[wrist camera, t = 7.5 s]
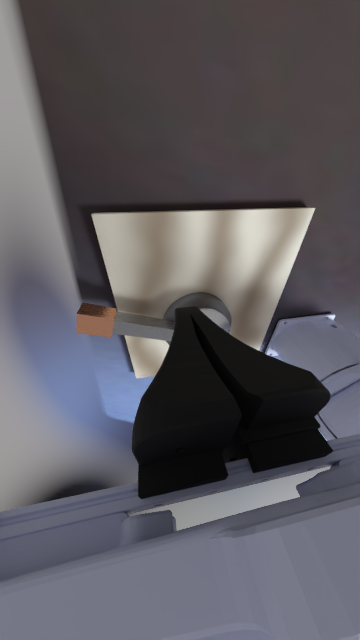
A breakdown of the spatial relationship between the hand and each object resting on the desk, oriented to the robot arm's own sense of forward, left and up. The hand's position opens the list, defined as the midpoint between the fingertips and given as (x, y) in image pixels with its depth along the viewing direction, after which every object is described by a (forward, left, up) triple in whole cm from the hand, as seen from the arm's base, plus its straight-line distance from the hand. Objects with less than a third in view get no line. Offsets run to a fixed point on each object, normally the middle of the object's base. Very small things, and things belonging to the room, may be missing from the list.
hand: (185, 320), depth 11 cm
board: (-4, +6, -9) cm, 12 cm away
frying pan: (+1, +5, -6) cm, 8 cm away
